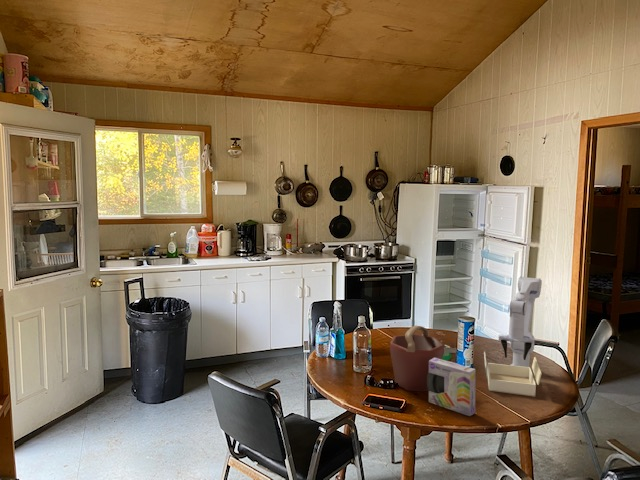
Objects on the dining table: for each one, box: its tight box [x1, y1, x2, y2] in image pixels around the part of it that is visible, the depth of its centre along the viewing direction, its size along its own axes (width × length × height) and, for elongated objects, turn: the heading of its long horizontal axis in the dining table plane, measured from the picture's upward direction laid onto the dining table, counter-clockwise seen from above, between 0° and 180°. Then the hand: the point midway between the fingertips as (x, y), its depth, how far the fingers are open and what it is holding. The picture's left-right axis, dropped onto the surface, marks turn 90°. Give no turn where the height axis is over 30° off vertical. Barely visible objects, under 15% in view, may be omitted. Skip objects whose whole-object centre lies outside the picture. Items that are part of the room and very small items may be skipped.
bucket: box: [389, 325, 445, 392], centre depth 213 cm, size 24×22×25 cm
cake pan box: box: [427, 358, 477, 417], centre depth 191 cm, size 19×5×18 cm, turn 45°
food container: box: [439, 340, 458, 363], centre depth 235 cm, size 12×6×10 cm, turn 21°
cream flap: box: [531, 356, 542, 386], centre depth 210 cm, size 20×5×1 cm
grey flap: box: [483, 351, 488, 380], centre depth 216 cm, size 20×5×1 cm
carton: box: [487, 362, 537, 397], centre depth 214 cm, size 20×18×5 cm
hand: (515, 358), depth 217 cm, fingers open, 7 cm apart
